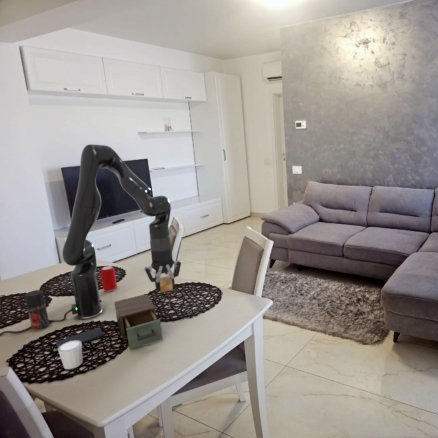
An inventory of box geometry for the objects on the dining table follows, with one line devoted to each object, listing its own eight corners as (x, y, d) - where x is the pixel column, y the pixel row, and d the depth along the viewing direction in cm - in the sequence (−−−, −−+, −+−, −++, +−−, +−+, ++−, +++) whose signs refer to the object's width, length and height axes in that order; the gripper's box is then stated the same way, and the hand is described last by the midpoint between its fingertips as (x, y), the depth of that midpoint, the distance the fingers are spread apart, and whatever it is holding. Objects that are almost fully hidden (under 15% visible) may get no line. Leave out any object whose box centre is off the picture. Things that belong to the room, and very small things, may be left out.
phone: (55, 341, 135) (99, 327, 144) (55, 343, 135) (99, 329, 144) (58, 350, 129) (103, 334, 138) (59, 352, 129) (104, 336, 139)
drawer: (165, 344, 130) (163, 324, 129) (131, 355, 124) (128, 335, 123) (153, 323, 146) (151, 305, 144) (123, 332, 140) (120, 314, 138)
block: (161, 292, 140) (160, 282, 139) (158, 288, 144) (157, 278, 143) (172, 289, 142) (171, 279, 141) (169, 286, 146) (168, 276, 145)
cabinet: (157, 329, 143) (155, 307, 141) (123, 339, 136) (120, 316, 134) (149, 314, 155) (146, 293, 153) (117, 323, 149) (114, 301, 147)
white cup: (68, 358, 125) (64, 340, 124) (88, 357, 126) (85, 339, 124) (57, 371, 118) (53, 352, 117) (78, 369, 119) (75, 350, 117)
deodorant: (52, 324, 150) (46, 290, 146) (38, 331, 144) (31, 296, 141) (42, 322, 152) (35, 289, 148) (28, 329, 146) (21, 295, 143)
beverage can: (119, 288, 184) (116, 266, 181) (108, 293, 179) (104, 270, 176) (112, 286, 187) (109, 264, 184) (101, 291, 182) (97, 268, 179)
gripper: (176, 242, 146) (180, 281, 150) (139, 248, 138) (144, 290, 142) (182, 246, 140) (186, 287, 144) (143, 253, 132) (148, 296, 136)
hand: (165, 288), depth 143 cm, fingers closed on block, 4 cm apart
